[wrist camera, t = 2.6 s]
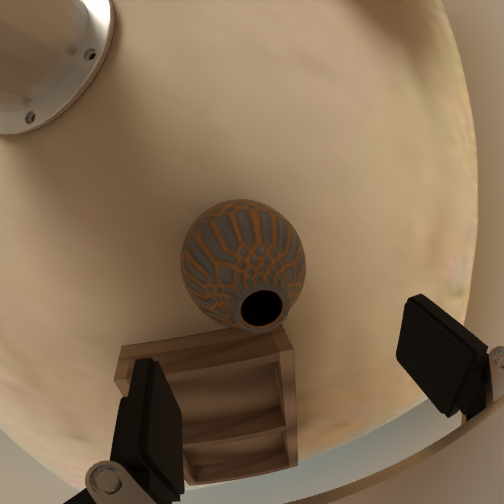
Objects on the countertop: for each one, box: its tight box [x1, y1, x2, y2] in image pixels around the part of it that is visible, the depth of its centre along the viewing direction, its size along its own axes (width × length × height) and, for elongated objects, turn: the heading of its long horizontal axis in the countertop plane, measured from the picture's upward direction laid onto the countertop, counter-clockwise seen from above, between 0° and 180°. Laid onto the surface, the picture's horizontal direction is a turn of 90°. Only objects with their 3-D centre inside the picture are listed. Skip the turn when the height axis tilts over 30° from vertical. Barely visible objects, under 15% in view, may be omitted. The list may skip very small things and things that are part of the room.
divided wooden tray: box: [114, 324, 298, 485], centre depth 24 cm, size 20×13×4 cm, turn 8°
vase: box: [181, 199, 306, 333], centre depth 16 cm, size 7×7×9 cm
